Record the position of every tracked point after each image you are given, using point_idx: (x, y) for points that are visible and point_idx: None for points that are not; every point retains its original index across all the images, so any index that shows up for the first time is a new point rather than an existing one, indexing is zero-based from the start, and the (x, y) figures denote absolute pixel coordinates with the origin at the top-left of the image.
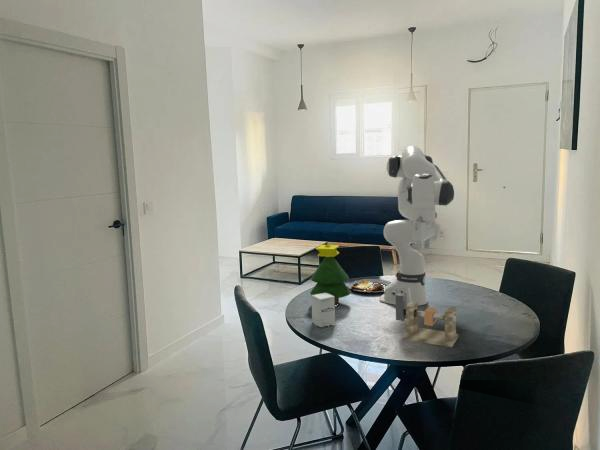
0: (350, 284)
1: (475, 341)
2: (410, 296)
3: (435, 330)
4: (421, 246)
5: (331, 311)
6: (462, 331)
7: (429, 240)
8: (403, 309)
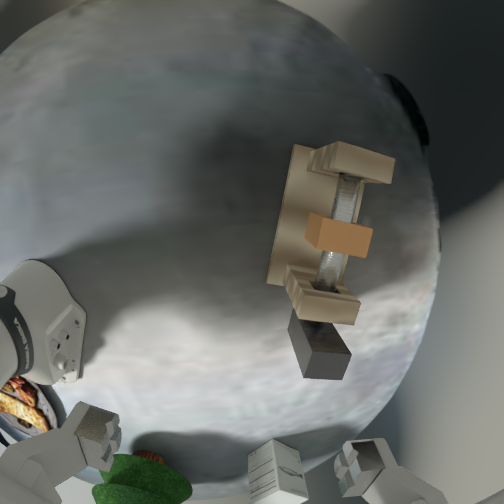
0: (30, 433)
1: (309, 102)
2: (61, 316)
3: (284, 211)
4: (419, 482)
5: (283, 465)
6: (240, 134)
7: (39, 457)
8: (333, 328)
